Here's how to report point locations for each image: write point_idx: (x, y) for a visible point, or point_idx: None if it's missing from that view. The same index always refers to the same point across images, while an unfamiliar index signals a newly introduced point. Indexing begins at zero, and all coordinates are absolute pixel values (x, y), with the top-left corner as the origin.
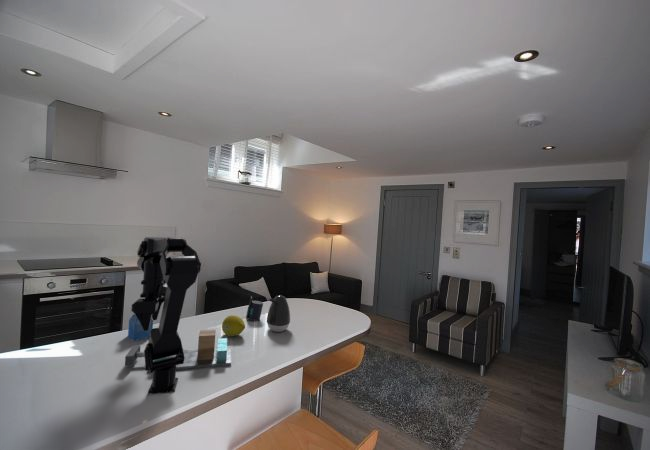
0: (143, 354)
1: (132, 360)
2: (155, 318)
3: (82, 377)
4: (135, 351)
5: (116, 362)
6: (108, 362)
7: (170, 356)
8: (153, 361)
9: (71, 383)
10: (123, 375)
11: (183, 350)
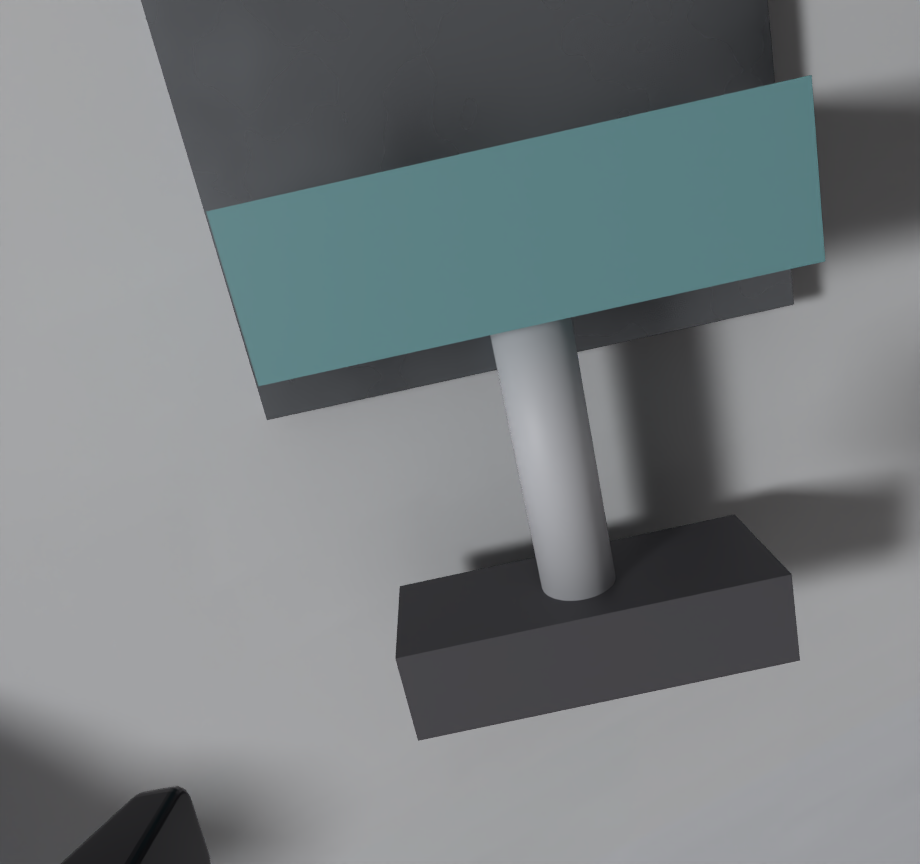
0: (598, 492)
1: (763, 547)
2: (181, 853)
3: (816, 843)
4: (638, 613)
5: (514, 735)
6: (516, 804)
7: (410, 145)
8: (578, 325)
9: (914, 860)
10: (815, 524)
11: (166, 9)
